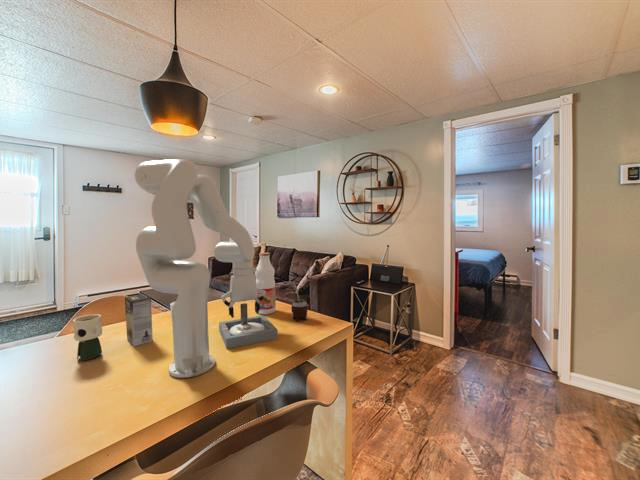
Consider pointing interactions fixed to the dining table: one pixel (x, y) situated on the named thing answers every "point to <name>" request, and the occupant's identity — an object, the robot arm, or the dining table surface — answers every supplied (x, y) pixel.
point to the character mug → (88, 335)
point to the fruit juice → (266, 284)
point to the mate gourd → (299, 308)
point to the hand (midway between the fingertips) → (244, 314)
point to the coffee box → (138, 319)
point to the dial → (245, 323)
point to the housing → (250, 337)
